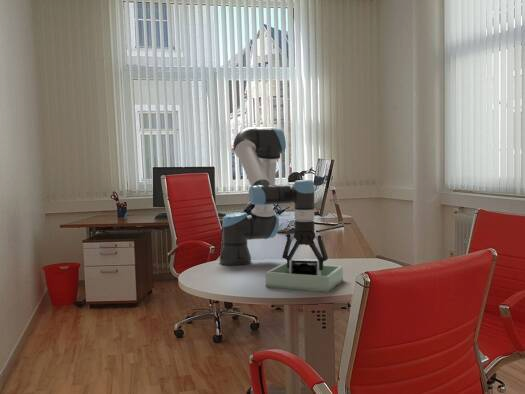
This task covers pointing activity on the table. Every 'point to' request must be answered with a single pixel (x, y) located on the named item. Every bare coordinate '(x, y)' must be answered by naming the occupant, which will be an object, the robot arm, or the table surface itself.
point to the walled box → (304, 279)
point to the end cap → (304, 267)
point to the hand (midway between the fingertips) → (305, 277)
